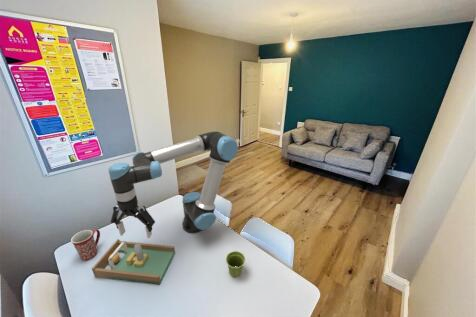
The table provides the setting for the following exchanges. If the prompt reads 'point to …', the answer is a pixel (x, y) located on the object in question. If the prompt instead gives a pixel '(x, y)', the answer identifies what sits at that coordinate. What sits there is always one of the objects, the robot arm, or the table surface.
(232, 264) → the plant pot
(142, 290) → the table surface
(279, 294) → the table surface
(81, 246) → the mug
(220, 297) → the table surface
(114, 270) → the pitch
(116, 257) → the ball
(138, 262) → the kicker
